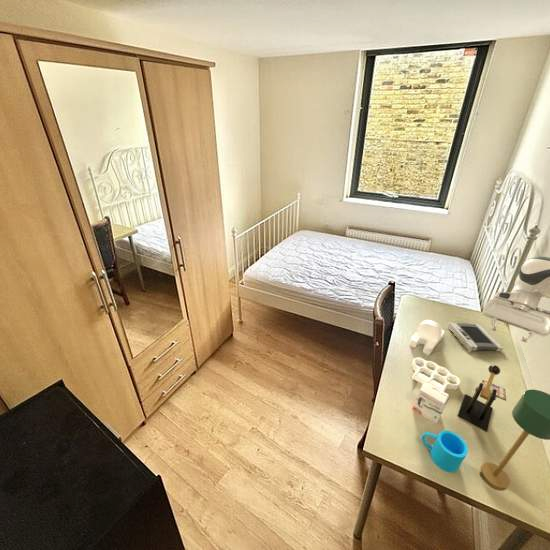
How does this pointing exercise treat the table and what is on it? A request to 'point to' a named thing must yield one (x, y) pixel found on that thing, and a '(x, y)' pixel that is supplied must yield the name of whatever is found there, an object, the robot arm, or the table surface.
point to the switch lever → (490, 381)
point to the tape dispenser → (427, 336)
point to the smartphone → (500, 391)
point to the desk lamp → (533, 420)
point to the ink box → (430, 402)
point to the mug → (447, 450)
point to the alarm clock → (474, 337)
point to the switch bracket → (477, 409)
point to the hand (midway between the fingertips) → (508, 335)
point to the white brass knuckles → (433, 374)
